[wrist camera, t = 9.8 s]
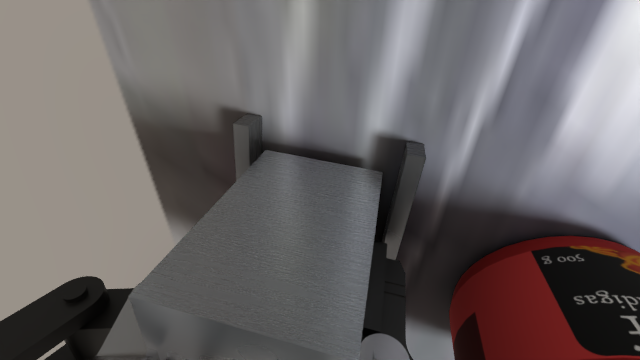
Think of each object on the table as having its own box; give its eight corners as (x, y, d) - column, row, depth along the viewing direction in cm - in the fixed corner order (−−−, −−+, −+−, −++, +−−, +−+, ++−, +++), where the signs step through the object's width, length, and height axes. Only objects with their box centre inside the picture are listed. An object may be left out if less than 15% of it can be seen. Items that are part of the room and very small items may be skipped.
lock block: (264, 149, 12) (122, 299, 6) (384, 172, 11) (361, 369, 5) (265, 261, 15) (172, 434, 9) (358, 284, 14) (325, 489, 8)
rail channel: (247, 113, 12) (205, 142, 10) (423, 144, 11) (429, 186, 8) (252, 271, 17) (224, 319, 14) (377, 303, 16) (373, 361, 13)
